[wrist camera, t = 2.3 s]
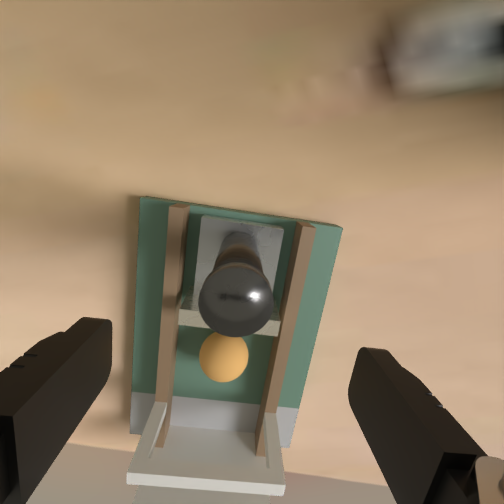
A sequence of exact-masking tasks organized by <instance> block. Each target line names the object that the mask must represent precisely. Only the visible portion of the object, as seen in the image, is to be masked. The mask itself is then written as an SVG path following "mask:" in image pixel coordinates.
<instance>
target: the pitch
mask: <svg viewBox="0 0 504 504" xmlns="http://www.w3.org/2000/svg"><path fill="white" fill-rule="evenodd" d="M203 215H212V216H218V217H225V218H232V219H239V220H245V221H252V222H259V223H266V224H272V225H279V226H282V227H283V229H284V233H283V239H282V244H281V249H280V255H279V260H278V265H277V271H276V276H275V281H274V287H273V292H272V294H273V296H274V298H275V301H276V305H277V309H278V313H279V317H280V321H281V322H280V327H279V332H278V337H277V336H269V335H260V334H251V335H248V336H244V337H242V339H243V340H244V341H245V343H246V346H247V348H248V362H247V365H246V368H245V369H244V371H243V372H242V374H241V375H240V376H239V377H237V378H236V379H234V380H232V381H229V382H216V381H214V380H212V379H210V378H209V377H208V376H206V374H205V373H204V372H203V370H202V368H201V365H200V361H199V353H200V349H201V346H202V344H203V342H204V341H205V339H206V338H207V337H208V336H210V335H211V334H212V333H214V332H215V331H213V330H212V329H210V328H202V327H193V326H185V325H178V318H179V309H180V307H181V305H182V303H183V301H184V298H185V296H186V294H187V292H188V290H189V288H190V286H194V284H195V274H196V265H197V255H198V245H199V236H200V226H201V217H202V216H203ZM342 230H343V228H342V227H340V226H338V225H334V224H327V223H321V222H314V221H307V220H301V219H294V218H287V217H281V216H274V215H268V214H261V213H254V212H248V211H241V210H234V209H228V208H221V207H214V206H208V205H201V204H194V203H188V202H181V201H174V200H168V199H161V198H155V197H148V196H146V197H141V198H140V211H139V234H138V256H137V279H136V301H135V324H134V346H133V369H132V391H131V414H130V434H140V435H142V436H141V438H140V441H139V443H138V446H137V448H136V451H135V453H134V456H133V458H132V461H131V464H130V466H129V469H128V471H127V484H134V485H139V486H138V489H137V492H136V495H135V497H134V501H133V504H270V495H276V496H283V495H284V491H285V487H286V483H285V475H284V468H283V460H282V453H281V447H284V448H289V447H290V443H291V439H292V435H293V431H294V426H295V422H296V418H297V414H298V410H299V406H300V402H301V398H302V394H303V390H304V386H305V381H306V377H307V373H308V369H309V365H310V361H311V357H312V353H313V349H314V345H315V341H316V336H317V332H318V328H319V324H320V320H321V316H322V312H323V308H324V304H325V300H326V296H327V292H328V287H329V283H330V279H331V275H332V271H333V267H334V263H335V259H336V255H337V251H338V247H339V242H340V238H341V234H342Z"/></svg>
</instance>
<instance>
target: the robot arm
mask: <svg viewBox="0 0 504 504" xmlns="http://www.w3.org/2000/svg"><path fill="white" fill-rule="evenodd" d="M111 366H112V322H111V321H110V320H108V319H99V318H90V317H83V318H81V319H79V320H78V321H77V322H76V323H75V324H74V325H72V326H71V327H70V328H69V329H68V330H67V331H65V332H58V333H56V334H54V335H52V336H49V337H47V338H45V339H43V340H41V341H39V342H38V343H37V344H35V345H34V346H33V347H32V348H30V349H29V350H28V351H27V352H25V353H24V355H23V356H20V357H19V358H18V359H16V360H15V361H14V362H13V363H11V364H10V367H9V368H8V367H6V368H5V369H4V370H3V371H1V372H0V504H26V502H27V501H28V499H29V497H30V496H31V495H32V493H33V491H34V490H35V488H36V487H37V486H38V484H39V483H40V481H41V480H42V478H43V477H44V475H45V474H46V472H47V471H48V469H49V468H50V466H51V464H52V463H53V462H54V460H55V459H56V457H57V456H58V454H59V453H60V451H61V450H62V448H63V447H64V445H65V444H66V442H67V441H68V439H69V438H70V436H71V435H72V433H73V432H74V430H75V429H76V427H77V426H78V424H79V423H80V421H81V420H82V418H83V417H84V415H85V414H86V412H87V411H88V409H89V408H90V406H91V405H92V403H93V402H94V400H95V399H96V397H97V396H98V394H99V393H100V391H101V390H102V388H103V387H104V385H105V384H106V382H107V380H108V377H109V374H110V371H111ZM348 398H349V403H350V406H351V409H352V411H353V413H354V415H355V417H356V419H357V421H358V423H359V426H360V428H361V430H362V432H363V434H364V436H365V438H366V440H367V442H368V444H369V446H370V448H371V450H372V453H373V455H374V457H375V459H376V461H377V463H378V465H379V467H380V469H381V471H382V473H383V475H384V478H385V480H386V482H387V484H388V486H389V488H390V490H391V492H392V494H393V496H394V498H395V500H396V503H397V504H504V460H502V459H499V458H496V457H491V456H488V455H487V454H486V453H485V452H484V451H483V450H482V449H481V448H480V447H479V445H478V444H477V443H476V442H475V441H474V440H473V439H472V438H471V436H470V435H469V434H468V433H467V432H466V431H465V430H464V429H463V427H462V426H461V425H460V424H459V423H458V422H457V421H456V420H455V419H454V417H453V416H452V415H451V414H450V413H449V412H448V411H447V410H446V409H445V408H443V405H442V404H441V403H440V402H439V401H438V399H437V398H436V397H435V396H432V393H431V392H430V391H429V389H428V388H427V387H426V386H425V385H424V384H423V383H422V382H421V380H420V379H418V378H417V377H416V376H414V375H413V374H412V373H410V372H409V371H408V370H406V369H405V368H403V367H402V366H401V365H400V364H399V363H398V362H397V361H396V359H395V358H394V357H393V356H392V355H391V354H390V352H389V351H387V350H385V349H376V348H367V347H362V348H361V349H360V350H359V352H358V354H357V358H356V362H355V365H354V369H353V373H352V376H351V380H350V384H349V388H348Z"/></svg>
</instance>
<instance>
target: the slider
mask: <svg viewBox="0 0 504 504" xmlns="http://www.w3.org/2000/svg"><path fill="white" fill-rule="evenodd" d="M283 233H284V229H283V227H282V226H279V225H272V224H266V223H259V222H252V221H245V220H239V219H232V218H225V217H218V216H212V215H203V216H202V217H201V226H200V236H199V245H198V255H197V265H196V274H195V284H194V286H190V288H189V290H188V292H187V294H186V296H185V298H184V301H183V303H182V305H181V307H180V309H179V318H178V325H185V326H193V327H202V328H210V329H212V330H213V331H215V332H217V333H219V334H221V335H224V336H228V337H244V336H248V335H251V334H260V335H269V336H277V337H278V332H279V327H280V322H281V321H280V317H279V313H278V309H277V305H276V301H275V298H274V296H273V294H272V292H273V287H274V281H275V276H276V271H277V265H278V260H279V255H280V249H281V244H282V239H283Z"/></svg>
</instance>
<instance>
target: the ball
mask: <svg viewBox="0 0 504 504" xmlns="http://www.w3.org/2000/svg"><path fill="white" fill-rule="evenodd" d="M199 361H200V365H201V368H202V370H203V372H204V373H205V374H206V376H208V377H209V378H210V379H212V380H214V381H216V382H229V381H232V380H234V379H236V378H237V377H239V376H240V375H241V374H242V372H243V371H244V369H245V368H246V365H247V362H248V348H247V346H246V343H245V341H244V340H243V339H242V337H228V336H224V335H221V334H219V333H217V332H214V333H212V334H211V335H210V336H208V337H207V338H206V339H205V341H204V342H203V344H202V346H201V349H200V353H199Z"/></svg>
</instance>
